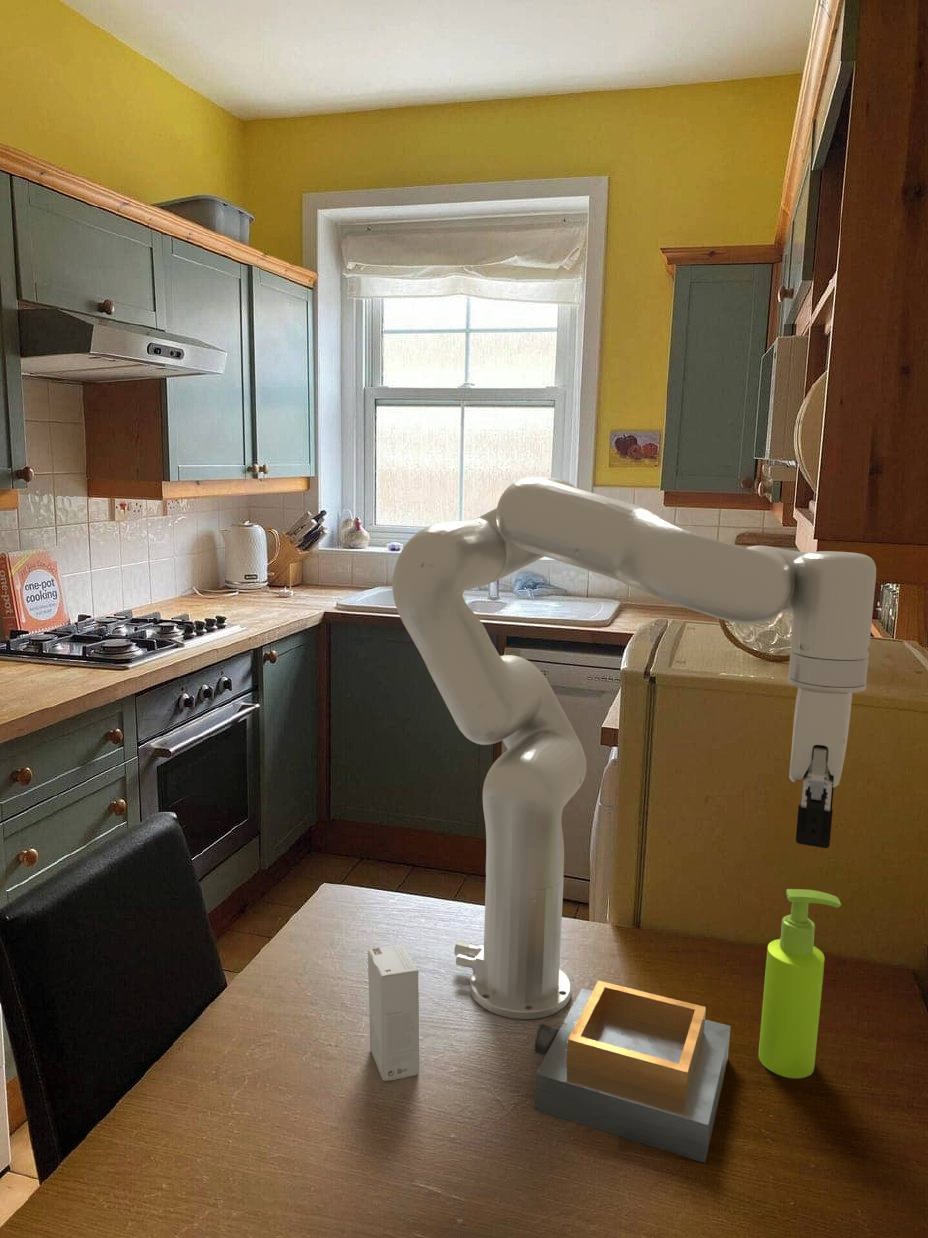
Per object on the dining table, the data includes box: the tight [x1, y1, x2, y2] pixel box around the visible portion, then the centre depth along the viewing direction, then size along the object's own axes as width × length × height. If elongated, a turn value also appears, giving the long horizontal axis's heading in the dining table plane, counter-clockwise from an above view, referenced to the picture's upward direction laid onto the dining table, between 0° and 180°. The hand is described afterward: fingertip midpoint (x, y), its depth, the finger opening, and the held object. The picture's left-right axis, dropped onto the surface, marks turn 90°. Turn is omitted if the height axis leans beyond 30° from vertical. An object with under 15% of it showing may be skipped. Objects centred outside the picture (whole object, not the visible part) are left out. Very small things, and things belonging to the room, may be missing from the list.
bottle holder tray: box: [533, 980, 731, 1164], centre depth 95 cm, size 19×17×7 cm
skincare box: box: [367, 943, 420, 1082], centre depth 96 cm, size 6×4×12 cm
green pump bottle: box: [758, 888, 842, 1079], centre depth 98 cm, size 6×7×20 cm
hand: (814, 828), depth 95 cm, fingers open, 9 cm apart
